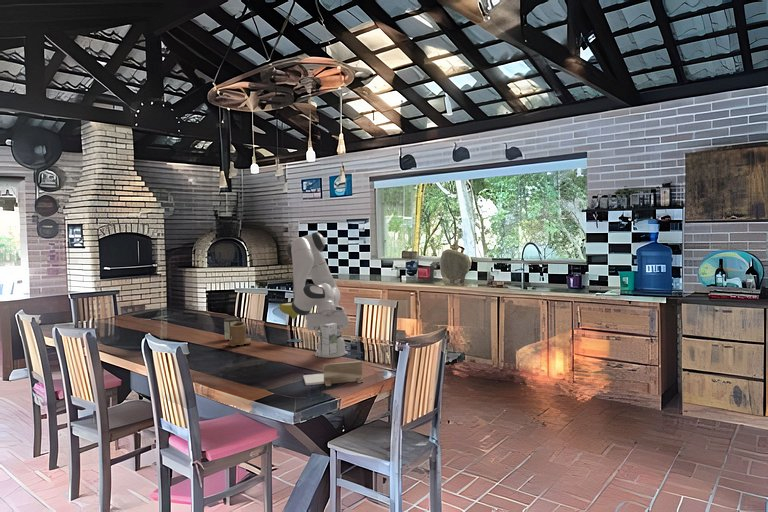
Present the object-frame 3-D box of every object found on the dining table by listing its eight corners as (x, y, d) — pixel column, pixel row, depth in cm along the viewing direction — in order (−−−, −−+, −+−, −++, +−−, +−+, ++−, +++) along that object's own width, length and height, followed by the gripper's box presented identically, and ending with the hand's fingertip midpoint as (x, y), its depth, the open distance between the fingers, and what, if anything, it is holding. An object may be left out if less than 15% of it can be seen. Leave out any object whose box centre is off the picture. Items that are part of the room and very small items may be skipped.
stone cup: (231, 348, 323) (230, 324, 322) (226, 345, 333) (225, 322, 333) (255, 345, 331) (254, 322, 330) (249, 342, 341) (248, 319, 340)
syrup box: (329, 351, 253) (328, 322, 253) (338, 353, 249) (337, 323, 249) (320, 353, 249) (319, 323, 248) (329, 355, 245) (328, 324, 245)
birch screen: (323, 383, 244) (323, 364, 244) (361, 379, 249) (361, 361, 248) (325, 386, 240) (324, 366, 239) (363, 382, 244) (363, 363, 244)
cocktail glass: (284, 338, 349) (282, 301, 348) (310, 338, 349) (309, 301, 348) (277, 344, 331) (276, 305, 330) (305, 344, 331) (304, 305, 329)
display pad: (303, 377, 255) (303, 375, 255) (323, 375, 258) (323, 373, 257) (305, 385, 242) (305, 383, 242) (327, 383, 244) (327, 381, 244)
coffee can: (233, 337, 358) (232, 317, 358) (243, 338, 353) (242, 318, 352) (221, 340, 350) (220, 319, 349) (231, 341, 344) (231, 320, 343)
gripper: (305, 309, 253) (307, 333, 244) (347, 307, 257) (350, 330, 248) (305, 317, 258) (306, 340, 249) (346, 315, 262) (349, 338, 253)
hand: (328, 335), depth 249 cm, fingers closed on syrup box, 8 cm apart
